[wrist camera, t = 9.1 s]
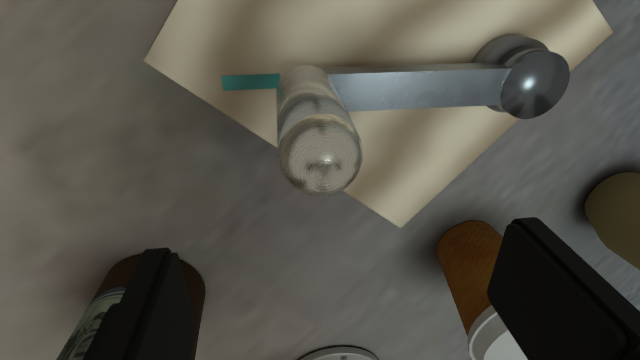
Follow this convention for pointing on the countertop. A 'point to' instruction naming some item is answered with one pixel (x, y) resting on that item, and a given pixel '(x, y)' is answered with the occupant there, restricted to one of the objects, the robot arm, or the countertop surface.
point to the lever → (396, 106)
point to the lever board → (369, 50)
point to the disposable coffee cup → (476, 288)
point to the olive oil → (112, 294)
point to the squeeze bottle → (617, 214)
